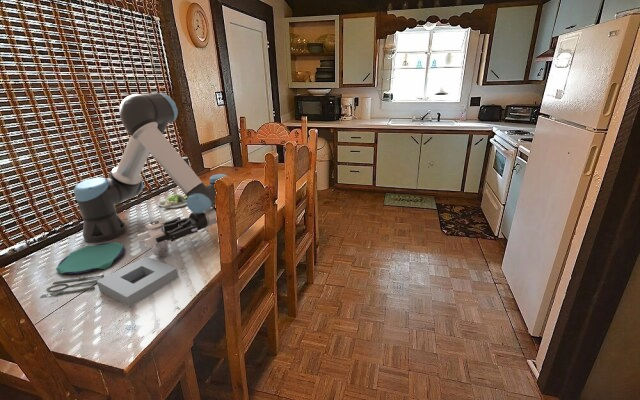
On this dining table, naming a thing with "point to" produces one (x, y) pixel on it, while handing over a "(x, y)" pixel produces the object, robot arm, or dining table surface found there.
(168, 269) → the jig
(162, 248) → the bushing
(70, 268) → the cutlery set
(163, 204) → the salad plate
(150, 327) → the dining table surface
